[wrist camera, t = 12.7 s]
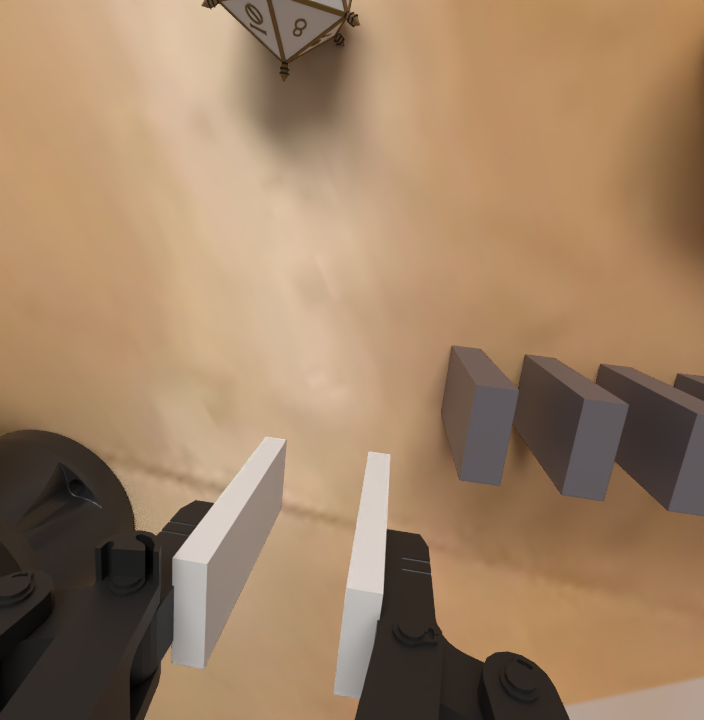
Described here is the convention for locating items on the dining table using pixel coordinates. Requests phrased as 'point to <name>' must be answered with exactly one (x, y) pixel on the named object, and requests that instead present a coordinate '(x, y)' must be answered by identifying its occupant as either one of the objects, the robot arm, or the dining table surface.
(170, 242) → the dining table surface
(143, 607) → the robot arm
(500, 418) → the domino
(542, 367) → the domino
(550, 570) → the dining table surface
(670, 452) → the domino
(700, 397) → the domino
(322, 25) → the game die
